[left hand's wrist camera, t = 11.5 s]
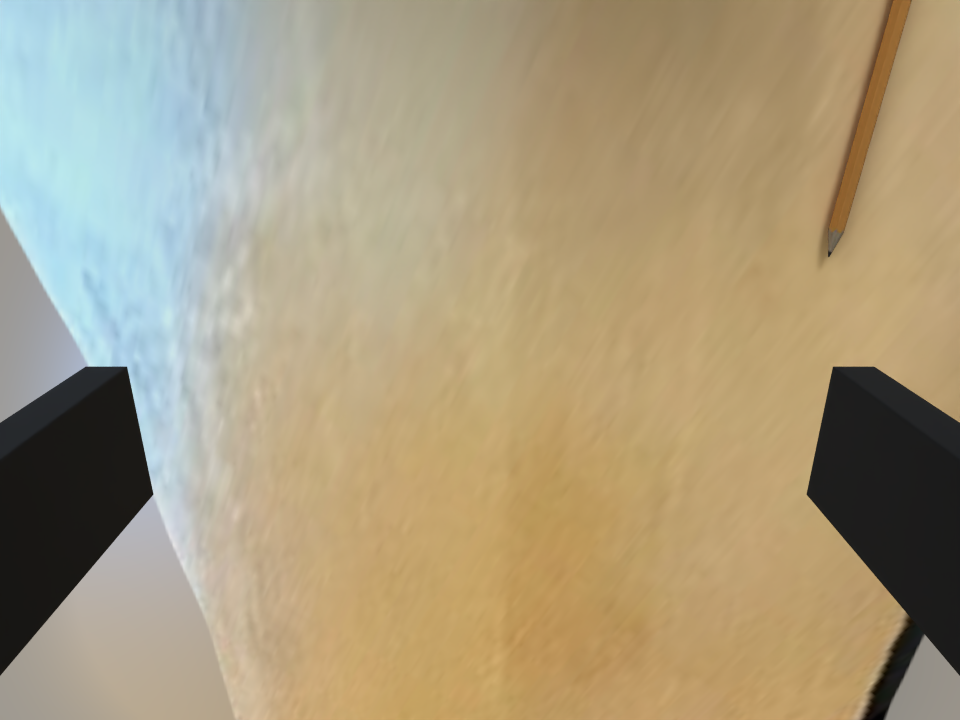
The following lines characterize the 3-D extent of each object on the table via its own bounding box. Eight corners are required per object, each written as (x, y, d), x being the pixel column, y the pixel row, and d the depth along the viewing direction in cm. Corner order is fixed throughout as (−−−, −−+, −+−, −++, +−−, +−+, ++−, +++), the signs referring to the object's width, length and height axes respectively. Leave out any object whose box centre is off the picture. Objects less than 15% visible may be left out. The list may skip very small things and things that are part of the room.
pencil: (915, -96, 35) (816, 255, 42) (935, -99, 34) (831, 259, 41) (924, -91, 36) (825, 255, 42) (944, -95, 35) (840, 258, 42)
